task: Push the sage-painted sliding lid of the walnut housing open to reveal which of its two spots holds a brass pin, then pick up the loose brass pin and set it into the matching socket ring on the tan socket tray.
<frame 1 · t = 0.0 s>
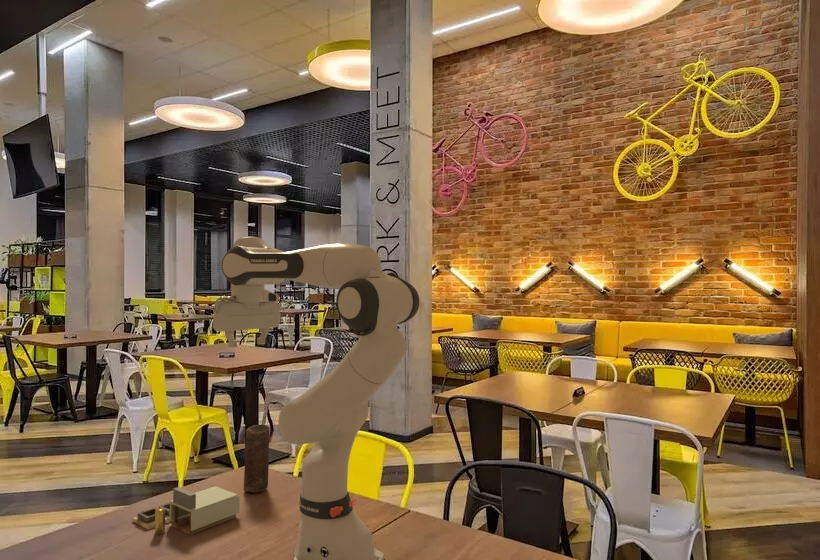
hand: (247, 345, 158), 48 cm above the table, fingers open, 8 cm apart
tan socket tray: (161, 518, 157), on the table
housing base: (204, 521, 156), on the table
brown wooden log: (256, 491, 178), on the table
lid: (205, 500, 156), point 6 cm above the table, slide at 0.0 cm
pin: (159, 532, 149), on the table
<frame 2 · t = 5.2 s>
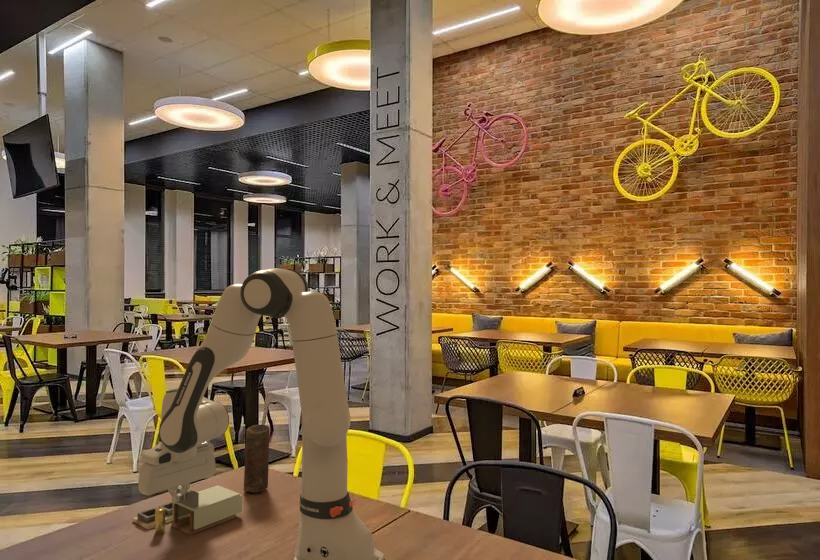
hand: (178, 501, 149), 8 cm above the table, fingers closed
lid: (208, 499, 156), point 6 cm above the table, slide at 0.8 cm, touching gripper
everything else where it was.
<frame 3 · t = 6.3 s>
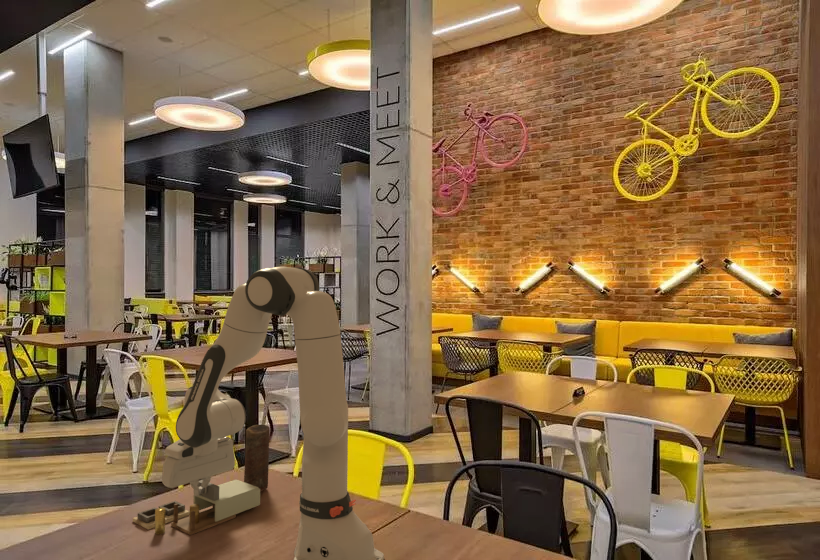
hand: (200, 494, 154), 8 cm above the table, fingers closed
lid: (227, 492, 161), point 6 cm above the table, slide at 7.1 cm, touching gripper
everything else where it was.
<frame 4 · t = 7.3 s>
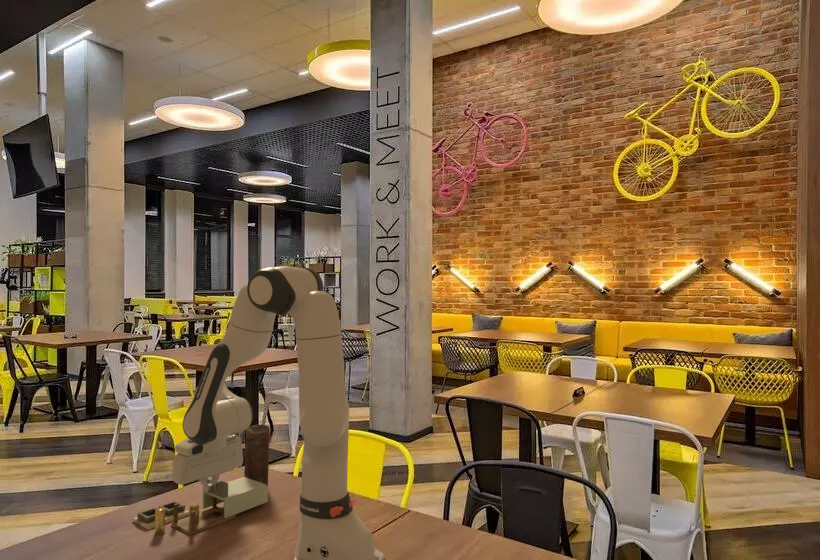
hand: (209, 491, 157), 8 cm above the table, fingers closed
lid: (235, 489, 164), point 6 cm above the table, slide at 9.9 cm, touching gripper
everything else where it was.
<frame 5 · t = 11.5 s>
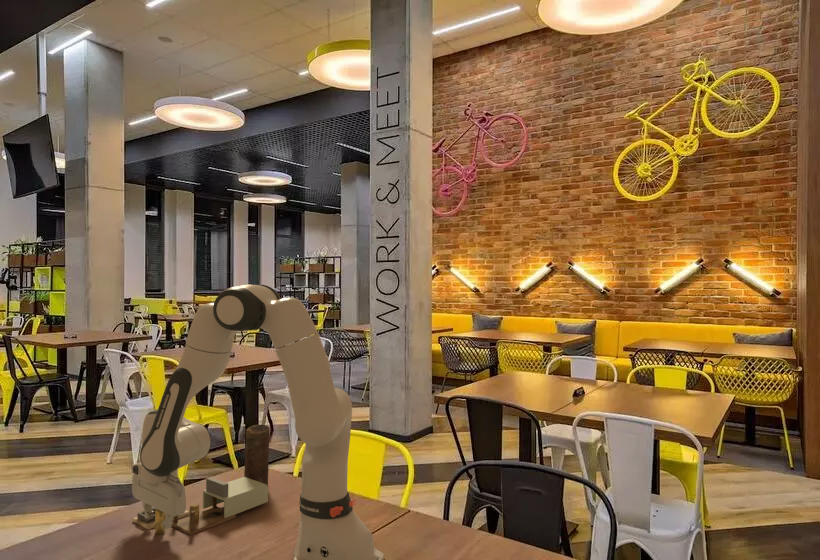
hand: (157, 522, 149), 2 cm above the table, fingers open, 7 cm apart
lid: (236, 489, 164), point 6 cm above the table, slide at 10.0 cm
everything else where it was.
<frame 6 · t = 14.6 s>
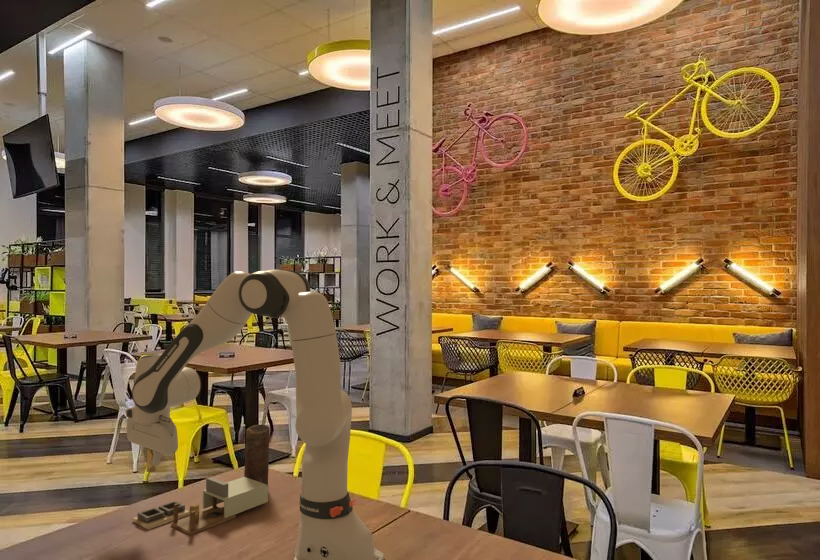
hand: (151, 463, 155), 16 cm above the table, fingers closed on pin, 2 cm apart
pin: (151, 470, 155), point 14 cm above the table, touching gripper
everything else where it was.
when the fingers open (4 cm above the table, at t = 16.8 s): pin stays where it is, resting on tan socket tray.
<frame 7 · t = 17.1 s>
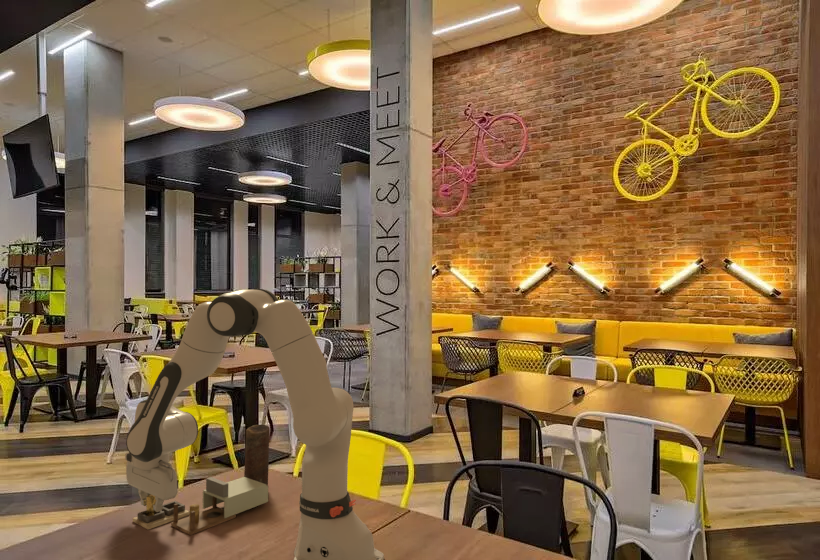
hand: (151, 507, 155), 4 cm above the table, fingers open, 5 cm apart
pin: (151, 518, 155), point 1 cm above the table, touching tan socket tray
everything else where it was.
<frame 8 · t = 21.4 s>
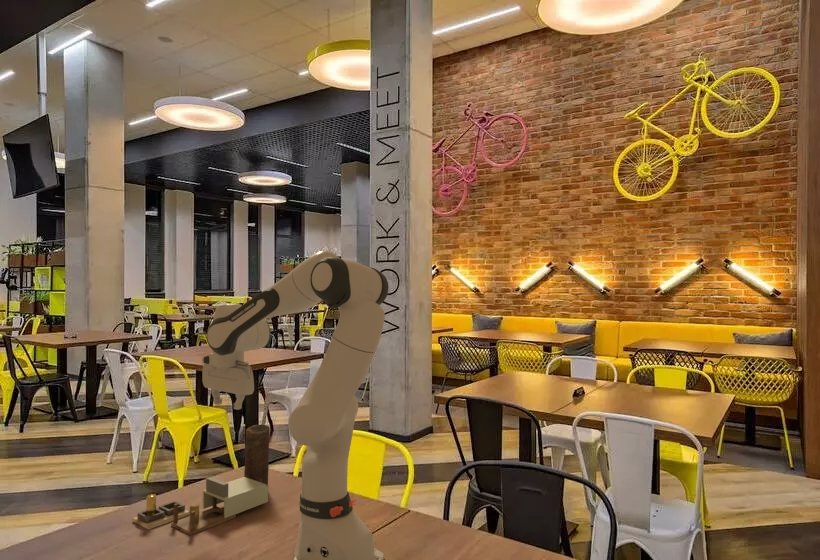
hand: (227, 406, 166), 29 cm above the table, fingers open, 8 cm apart
nothing on the table moved.
at the end: lid slide at 10.0 cm; pin 0.0 cm from the target spot on the tan socket tray, point 1.0 cm above the tan socket tray's base; pin tilted 1° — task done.
